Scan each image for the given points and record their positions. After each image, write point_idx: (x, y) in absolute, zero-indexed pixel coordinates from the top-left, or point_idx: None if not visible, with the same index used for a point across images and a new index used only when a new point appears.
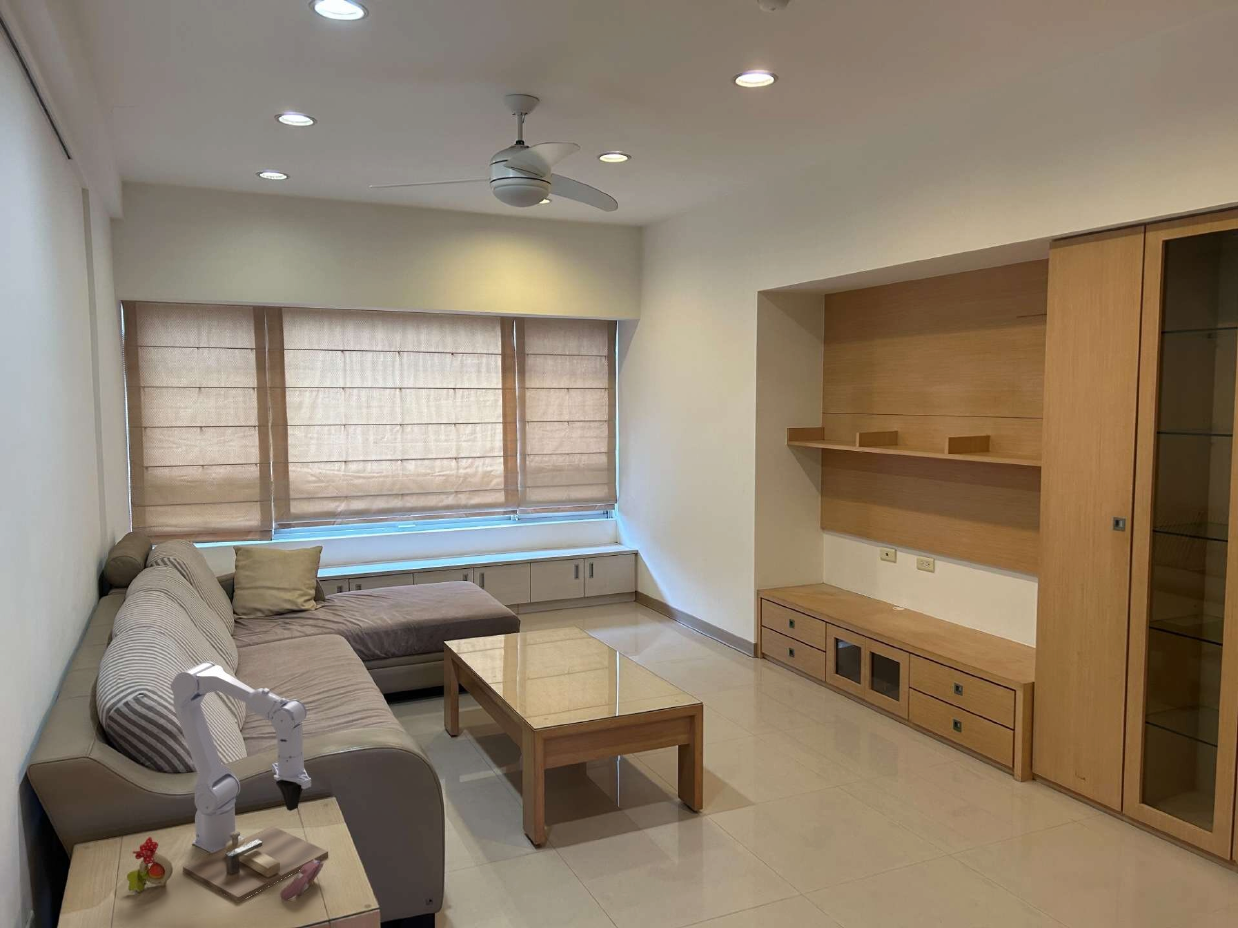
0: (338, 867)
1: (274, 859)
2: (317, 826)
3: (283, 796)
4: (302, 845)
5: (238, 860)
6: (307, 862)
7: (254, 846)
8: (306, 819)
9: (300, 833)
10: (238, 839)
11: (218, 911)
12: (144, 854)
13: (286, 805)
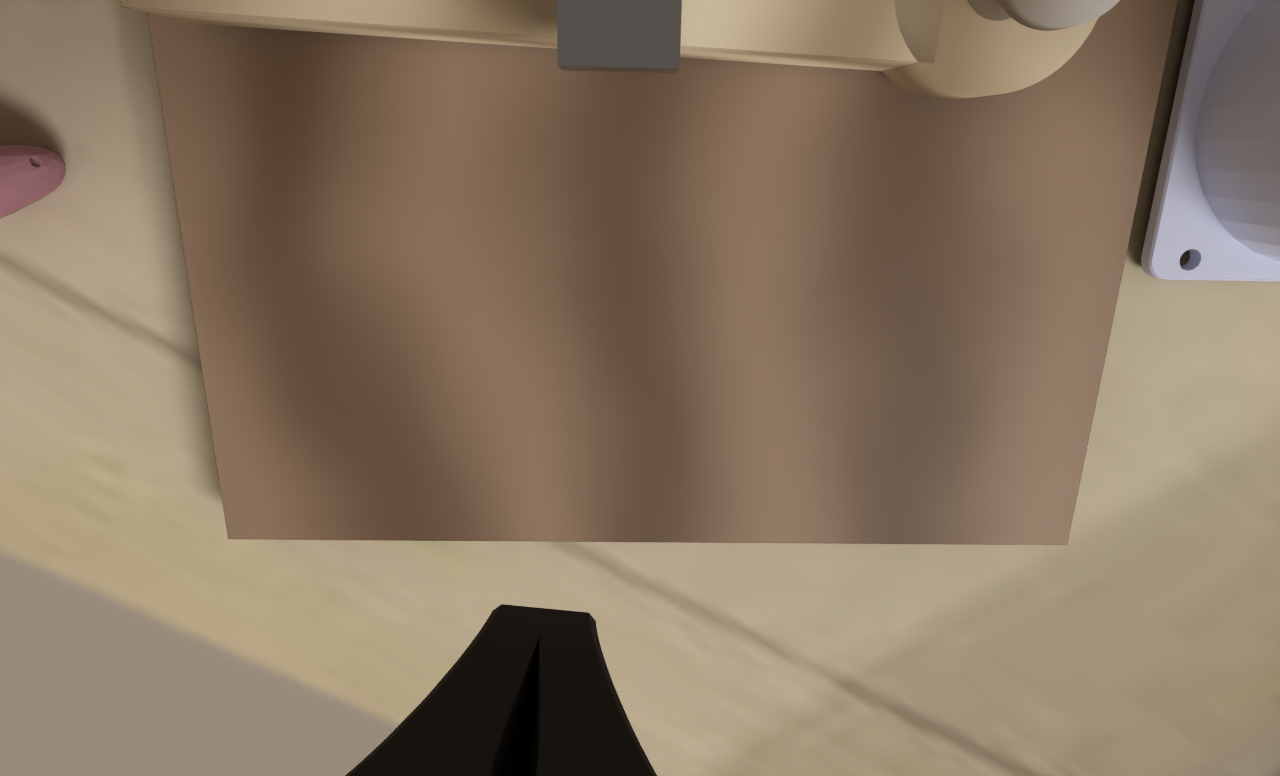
0: (5, 451)
1: (239, 14)
2: (753, 745)
3: (622, 756)
4: (512, 479)
5: None
6: (200, 322)
7: None
8: (927, 764)
9: (780, 614)
10: (1045, 67)
11: None
12: None
13: (559, 640)
